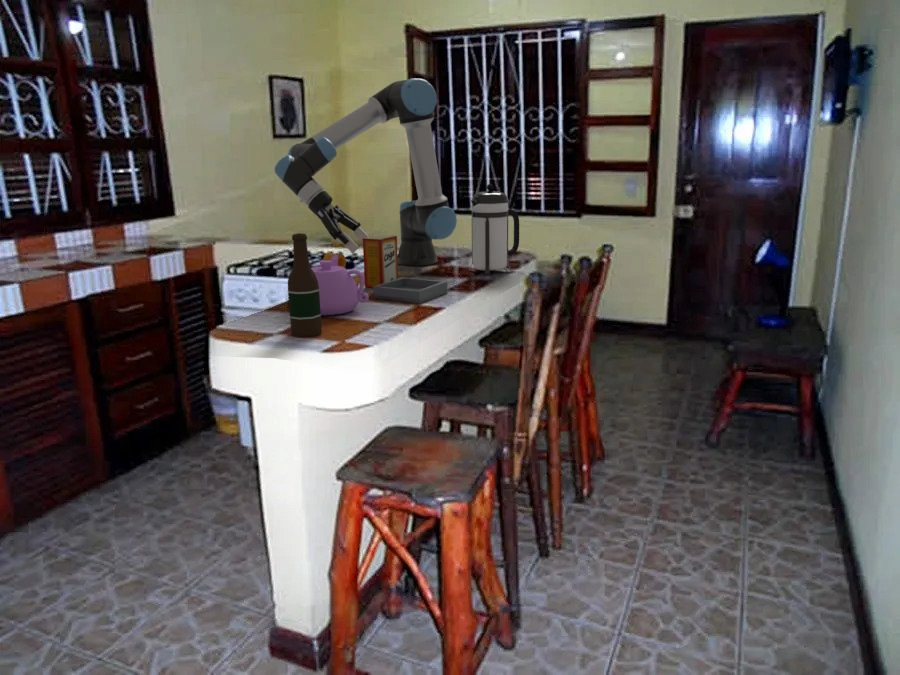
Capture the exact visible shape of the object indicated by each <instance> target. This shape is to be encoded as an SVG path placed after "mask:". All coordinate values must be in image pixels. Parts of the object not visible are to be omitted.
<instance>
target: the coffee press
mask: <svg viewBox="0 0 900 675" xmlns="http://www.w3.org/2000/svg"><path fill="white" fill-rule="evenodd" d="M493 189H494V186H493V184H492V183H489V184H487V185H486V190H487V191H480V192H476V193H474V195H473V196H472V199H471V200H470V203H471V206H470V211H471V265H470V266H469V268H468V271H471V269H470V268H471V267H472V266H473V269H474V270H478V271H479V270H480V271H484V276H485V275H489V276H490V273H491V271H501V270H504V271H505V272H507V273H508V274H509V273H511V272H512V267H510V265H509V257H510V256H513V255H515V254H516V252H517V251H518V249H519V246H520V218H519V215H518V213H517V212H516V210H514V209H510V208H509V202H510V200H509V198H508V195H507V194H506V193H504V192H501V191H493ZM508 208H509V209H508ZM509 215H510V216H511V217H512V219H513V244H512V248H511V249H510V250H509ZM506 267H508V268H509V270H510V271H508V270H507V268H506Z"/></svg>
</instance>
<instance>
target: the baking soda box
mask: <svg viewBox="0 0 900 675" xmlns="http://www.w3.org/2000/svg"><path fill="white" fill-rule="evenodd" d="M368 236H369V237H366V238H363V242H362V251H363V253H362V255H363V272H364V273H363V275H364V278H365V282H364V289H369V288H372V289H371V290H373V286H376V285H380V284H383V283H386V282H389V281H392V280H395V279H399V264H398V236H397V235H393V234H391V235H390V234H376V235H368Z"/></svg>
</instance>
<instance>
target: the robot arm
mask: <svg viewBox="0 0 900 675" xmlns="http://www.w3.org/2000/svg"><path fill="white" fill-rule="evenodd" d="M437 98H438V97H437V93H436V89H435V88H434V86H433V85H432V84H431V83H430V81H428V80H426V79H424V78H416V77H414V78H409V79H404V80H397V81H394V82H391V83H390V84H388V85H387V86H385V87H384V88H382V89H381V90H379V91H378V92H377V93H375V94H373V95H372V96H370V97H369V98H368V100H367V103H364V104H363V105H362V106H359V107H358V108H357V109H355V110H353V111H352V112H350V113H348V114H347V115H345V116H343V117H342V118H340V119H339V120H337V121H334V122H333V123H332V124H330V125H329V126H327V127H325V128H324V129H322V130H320V131H319V132H317V133H315V134H314V135H312V136H311V137H309V138H307V139H306V140H304V141H301V143H296V144H293V145H292V146H290V148H289V150H288V152H287V155H285V156H284V157H282V158H280V160H278V162H277V163H276V164H275V167H274V173H275V174H276V176H277V177H278V178H279V179H280V181H281V182H282V183H283V184H284V185H286V186H287V187H288V188H289V189H290V191H291V192H293V193H294V194H295V195H296V197H297V198H298V199H300V200H299V202H301V203H303V204H304V205H305V206H307V208H308V209H309V210H310V211H311V212H312V213H313V214H314V215H315V216H317V218H318V219H319V220H320V221H321V223H322V224H323V225H324V227H325V229H326V230H327V232H328V233H329V234H330V236H331V237H332V239H333V240H339V241H340V242H341V244H343V245H344V246H345V248H346V249H347V250H349V251H350V253H351V254H354V253H356V251H357V250H358V249H360V246H359V245H358V244H357V243H356V242H355V241H354V240H353V239H352V238H351V237H350V236H349V235H348V234H347V233H346V232H345V231H343V230H342V228H341V226H340V224H341V225H343V226H344V227H346V228H348V229H350V230H351V231H353V232H352V233H353V234H354V235H355V236H356V237H357V238H358V239H359V240H360V241H361V243H363V238H366V237H369V236H370V235H368V233H367V232H365V231H364V230H363V228H361V225H362V223H361V222H359V221H357V220H356V219H355V218H354V217H353V216H351V215H350V214H349V213H348V212H346V211H344V210H343V209H342V208H341V207H340V206H339V205H338V204H336V205H335V206H334V205H332V202H333V200H334V199H333V197H332V196H331V195H330V194H329V193H328V192H327V191H326V190H324V187H323V186H321V185H320V184H319V182H318V181H317V180H316V179H315V178H313V177H314V176H315V175H316V174H317V173H319V171H321V170H322V169H323V168H325V167H326V166H327V165H329V164H330V163H331V162H332V161H333V160H334V159H335V158H336V157H337V149H338V148H340V147H342V146H344V145H346V144H347V143H349V142H350V141H352V140H353V139H355V138H357V137H358V136H360V135H362V134H363V133H365V132H366V131H368V130H370V129H371V128H373V127H374V126H377V124H379V123H381V124H385V123H386V122H388V121H391V120H393V119H396V118H398V120H399V125H400V126H402V127H404V129H405V134H406V138H407V144H408V149H409V155H410V161H411V166H412V170H413V171H412V172H413V178H414V182H415V187H416V192H417V197H418V198H417V200H410V201H409V200H408V201H403V202H401V203H400V205H399V220H400V221H399V224H400V245H399V249H398V251H397V253H398V265H401V266H408V267H409V266H410V267H411V266H413V267H414V266H415V267H416V266H419V267H420V266H428V265H435V264H437V263H438V256H437V253H436V250H435V247H434V244H433V240H439V241H440V240H446V239H447V238H449V237H450V236H451V235H452V234H453V233H454V231H455V230H456V226H457V223H458V222H457V215H456V213H455V211H454V210H453V209H452V208H451V207H450V205H449V201H448V197H447V196H445V195H444V194H443V192H442V185H441V179H440V172H439V168H438V162H437V155H436V149H435V143H434V138H433V131H432V125H431V123H432V122H433V120H434V118H435V117H434V110H435V108H436V106H437V103H438V102H437V100H438V99H437ZM339 223H340V224H339ZM436 262H437V263H436ZM434 263H435V264H434Z"/></svg>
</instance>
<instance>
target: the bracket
mask: <svg viewBox="0 0 900 675" xmlns="http://www.w3.org/2000/svg"><path fill="white" fill-rule="evenodd" d="M334 255H338V266H341V267H344V268H346V265H347V260H346V257H345V255H344V254H342V253H329V252H328V253H325V255H324V256H323V257H322V258H323V259H322V261H325V260H330V261H331V259H332V257H333V256H334ZM355 283H356V285H357V287H358V288H359V282H358V281H355Z"/></svg>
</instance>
